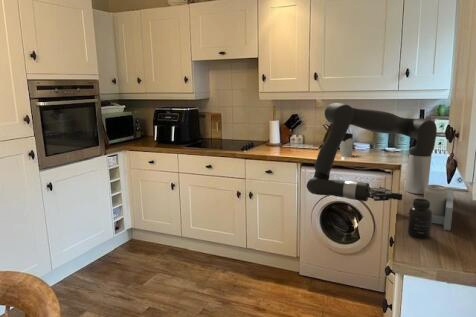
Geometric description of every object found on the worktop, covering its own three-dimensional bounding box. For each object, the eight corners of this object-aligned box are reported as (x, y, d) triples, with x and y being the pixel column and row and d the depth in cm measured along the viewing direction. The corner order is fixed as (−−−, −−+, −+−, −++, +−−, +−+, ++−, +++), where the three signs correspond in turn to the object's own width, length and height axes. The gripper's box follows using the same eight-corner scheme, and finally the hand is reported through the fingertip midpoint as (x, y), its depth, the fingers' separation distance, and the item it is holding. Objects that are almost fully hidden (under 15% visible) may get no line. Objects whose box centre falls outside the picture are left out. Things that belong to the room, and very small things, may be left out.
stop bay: (424, 205, 151) (426, 187, 149) (450, 209, 146) (453, 190, 144) (419, 225, 130) (421, 203, 129) (450, 230, 126) (452, 208, 124)
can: (438, 213, 142) (441, 183, 139) (448, 220, 134) (452, 189, 132) (418, 213, 142) (421, 183, 140) (427, 220, 135) (430, 189, 132)
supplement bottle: (405, 230, 126) (408, 196, 124) (427, 232, 124) (431, 198, 122) (408, 238, 120) (412, 202, 117) (432, 240, 118) (435, 204, 115)
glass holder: (345, 157, 249) (346, 135, 246) (331, 153, 262) (332, 132, 259) (355, 156, 253) (356, 134, 250) (341, 152, 265) (342, 132, 262)
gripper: (353, 185, 145) (401, 192, 136) (360, 178, 156) (404, 183, 148) (351, 204, 146) (399, 211, 138) (359, 195, 157) (403, 201, 149)
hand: (402, 197), depth 143 cm, fingers closed
